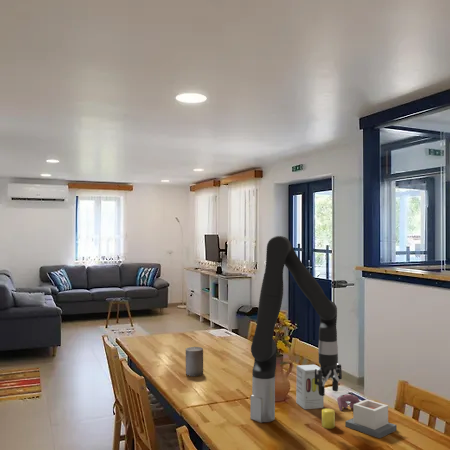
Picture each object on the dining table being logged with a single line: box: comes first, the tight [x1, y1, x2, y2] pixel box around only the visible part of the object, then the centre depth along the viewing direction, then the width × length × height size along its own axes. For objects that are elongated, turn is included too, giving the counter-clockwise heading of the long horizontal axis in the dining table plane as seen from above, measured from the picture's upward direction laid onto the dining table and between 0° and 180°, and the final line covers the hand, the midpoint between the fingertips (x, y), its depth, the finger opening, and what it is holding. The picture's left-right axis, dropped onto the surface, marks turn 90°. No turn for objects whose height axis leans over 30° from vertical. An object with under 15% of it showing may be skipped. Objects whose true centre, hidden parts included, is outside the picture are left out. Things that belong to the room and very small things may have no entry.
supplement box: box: [295, 364, 325, 410], centre depth 213 cm, size 10×9×17 cm
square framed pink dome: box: [344, 399, 398, 439], centre depth 187 cm, size 12×15×9 cm
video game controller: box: [336, 393, 361, 411], centre depth 209 cm, size 10×5×7 cm, turn 93°
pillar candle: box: [185, 346, 204, 377], centre depth 261 cm, size 10×10×15 cm
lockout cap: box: [321, 408, 336, 430], centre depth 189 cm, size 5×5×6 cm
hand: (328, 393), depth 189 cm, fingers open, 8 cm apart
